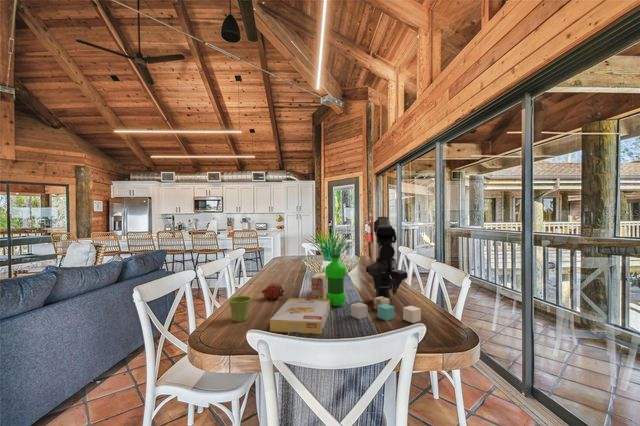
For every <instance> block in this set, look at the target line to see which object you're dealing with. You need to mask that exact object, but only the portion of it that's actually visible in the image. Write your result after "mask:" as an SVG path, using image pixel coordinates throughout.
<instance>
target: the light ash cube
mask: <svg viewBox="0 0 640 426" xmlns="http://www.w3.org/2000/svg"><path fill="white" fill-rule="evenodd" d="M390 299H391V298H390ZM390 299H388V298H385V297H382V296H381V297H376V296H375V297H374V298H373V308H374V309H375V310H377V306H379V305H383V304H388V305H390V303H391V301H390Z"/></svg>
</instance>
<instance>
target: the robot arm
mask: <svg viewBox="0 0 640 426" xmlns="http://www.w3.org/2000/svg"><path fill="white" fill-rule="evenodd" d="M373 233H374V236H375V238H376V243H377V247H378V248H377V254H378V255H377V256H378V257H376V259H375V260H376V261H375V262H373V263H371V264H369V265H367V266H366V267H365V272H366V273H367V274H368V275H369V276H370V277H371V278H372V279H373V288H374V290H375V298H376V297H381V296H382V297H385V298H388V299H390V302H391V301H392V299H391V298H390V296H391V295H390V290H391V291H392V294H393V296H394V295H396V294H397V292H398V289H399V287H400V286H401V284H402V282H403V281H404V280H405V279H408V272H407V271H406V270H401V269H395V266H394V267H393V262H394V261H395V257H394V256H395V254H396V253H395V252H396V251H395V248H394V247H393V244H396V242H397V240H398V238H397V231H396V229H395V228H394V226H393V225H391V221H390V220H389V217H388V216H378V217H377V219H376V220H375V221H373Z"/></svg>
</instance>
